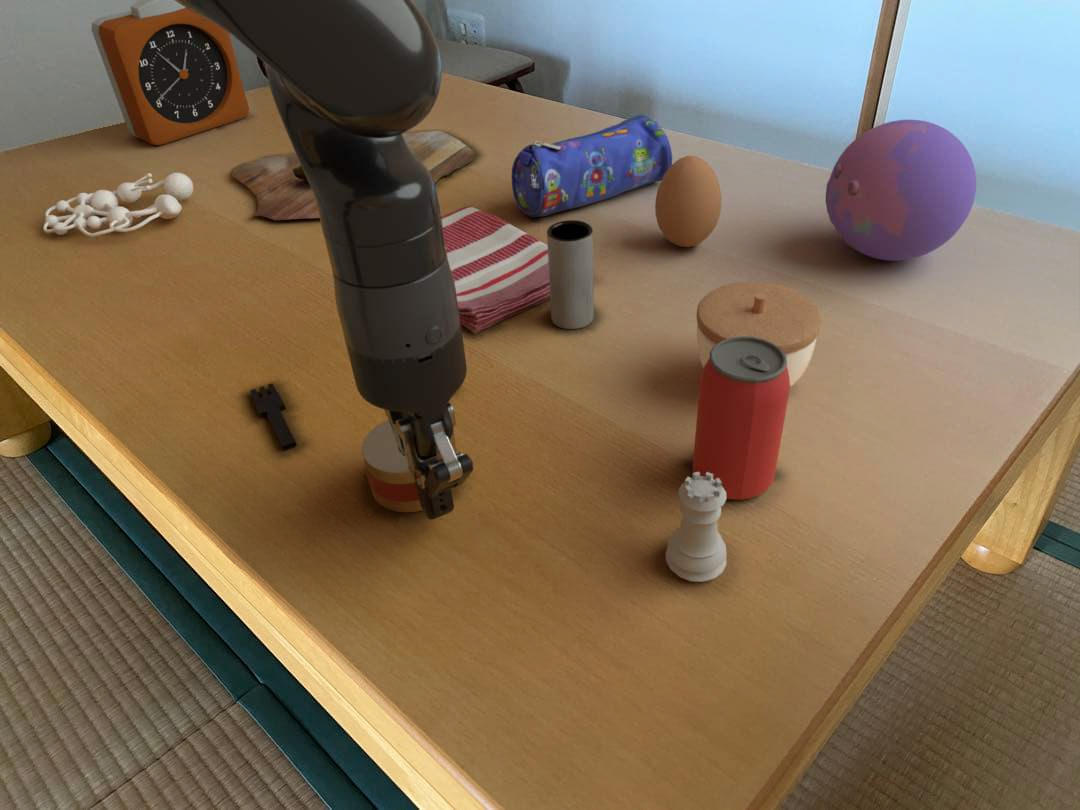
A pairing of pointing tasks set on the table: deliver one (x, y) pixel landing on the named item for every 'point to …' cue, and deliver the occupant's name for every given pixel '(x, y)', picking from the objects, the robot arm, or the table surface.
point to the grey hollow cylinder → (571, 273)
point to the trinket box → (760, 321)
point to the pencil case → (590, 167)
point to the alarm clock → (170, 70)
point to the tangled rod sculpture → (118, 216)
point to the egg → (688, 202)
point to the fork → (274, 414)
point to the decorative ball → (901, 190)
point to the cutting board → (292, 195)
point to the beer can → (741, 415)
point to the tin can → (389, 471)
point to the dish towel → (493, 267)
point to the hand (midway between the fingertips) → (438, 510)
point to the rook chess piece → (698, 531)
